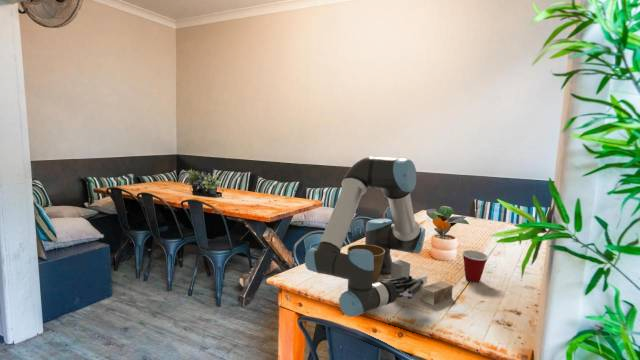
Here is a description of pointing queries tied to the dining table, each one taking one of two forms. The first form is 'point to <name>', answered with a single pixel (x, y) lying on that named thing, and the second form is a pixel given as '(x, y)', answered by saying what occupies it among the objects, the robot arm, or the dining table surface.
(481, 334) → the dining table surface
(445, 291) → the walnut block
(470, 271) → the plastic cup
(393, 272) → the grey block
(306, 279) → the dining table surface
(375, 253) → the plant pot
